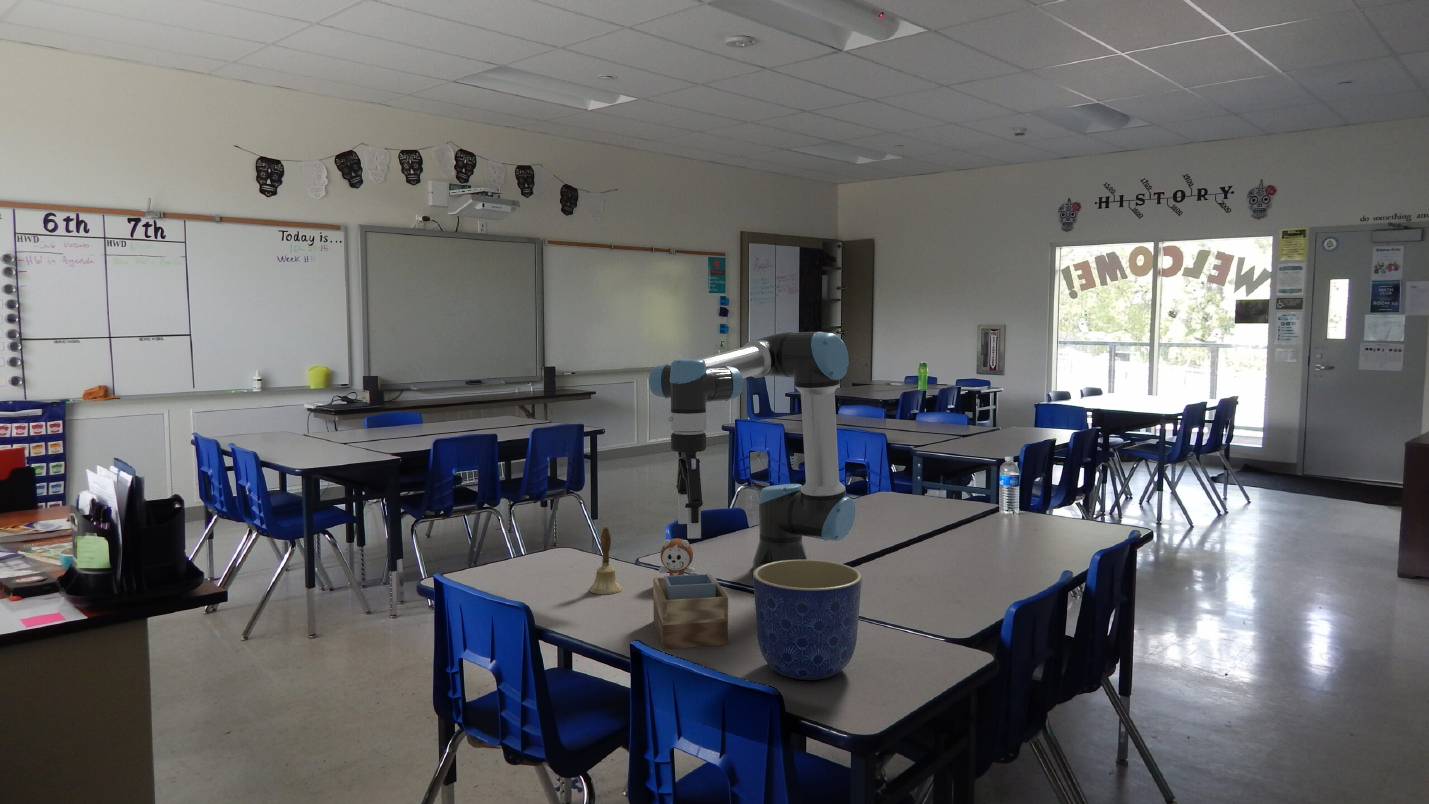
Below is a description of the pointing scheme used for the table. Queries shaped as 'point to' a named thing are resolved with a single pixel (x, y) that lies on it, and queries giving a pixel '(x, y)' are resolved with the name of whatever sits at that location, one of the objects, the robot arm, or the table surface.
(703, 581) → the blue crate
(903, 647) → the table surface
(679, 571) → the figurine
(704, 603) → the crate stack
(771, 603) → the planter
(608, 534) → the hand bell
